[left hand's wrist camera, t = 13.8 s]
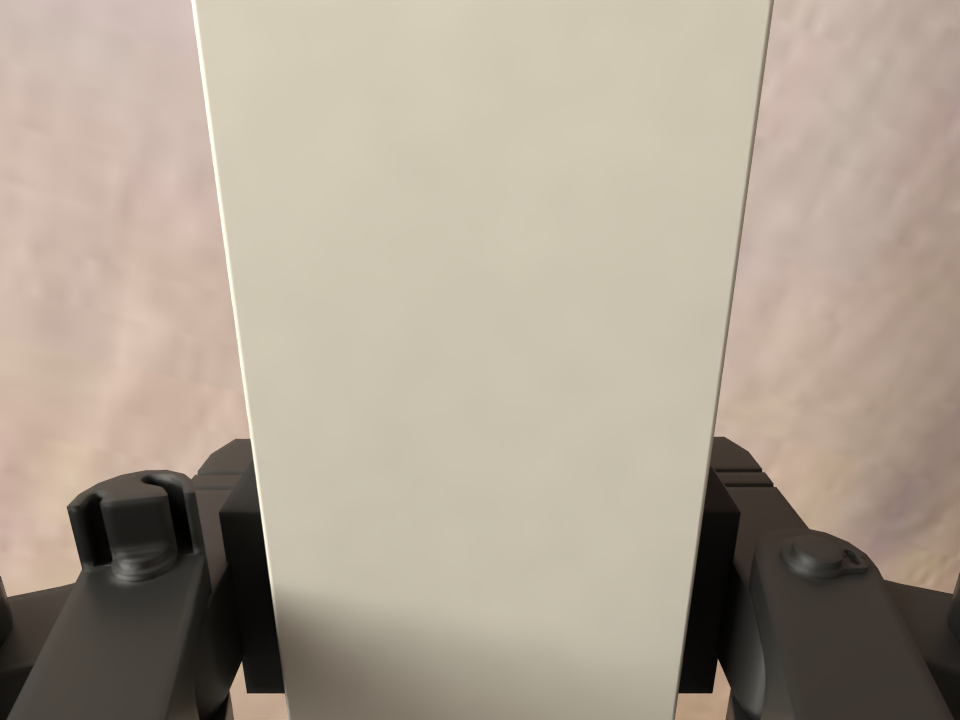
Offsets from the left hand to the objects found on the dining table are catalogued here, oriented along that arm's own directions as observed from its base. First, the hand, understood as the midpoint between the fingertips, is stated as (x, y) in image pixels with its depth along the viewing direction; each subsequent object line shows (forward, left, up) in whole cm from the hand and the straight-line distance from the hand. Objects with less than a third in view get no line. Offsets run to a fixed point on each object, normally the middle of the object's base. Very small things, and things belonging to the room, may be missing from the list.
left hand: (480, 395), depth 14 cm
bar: (+6, +6, -1) cm, 9 cm away
